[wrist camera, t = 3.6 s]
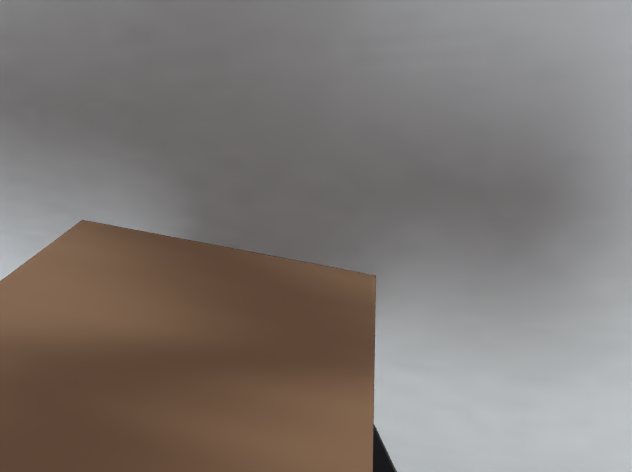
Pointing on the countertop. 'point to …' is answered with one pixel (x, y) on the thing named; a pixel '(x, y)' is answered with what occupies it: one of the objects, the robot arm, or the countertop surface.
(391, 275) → the countertop surface
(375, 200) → the countertop surface
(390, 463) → the robot arm
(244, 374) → the walnut cube
